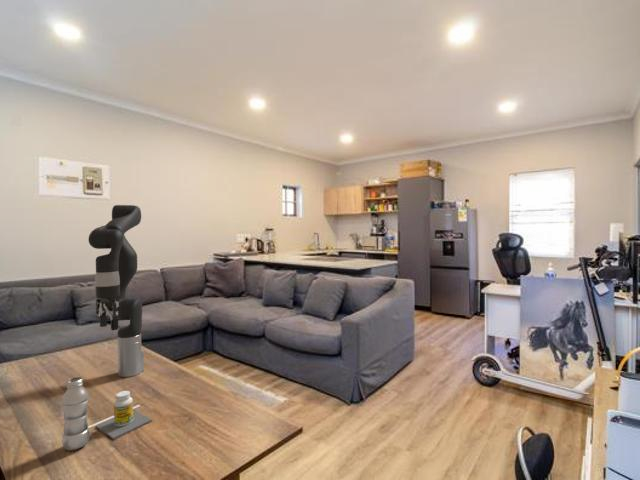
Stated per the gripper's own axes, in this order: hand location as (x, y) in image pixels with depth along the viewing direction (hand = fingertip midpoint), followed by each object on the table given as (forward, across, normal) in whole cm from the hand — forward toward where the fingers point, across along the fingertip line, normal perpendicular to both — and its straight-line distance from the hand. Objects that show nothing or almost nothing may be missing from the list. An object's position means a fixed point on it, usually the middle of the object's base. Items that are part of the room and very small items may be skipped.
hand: (108, 328), depth 124 cm
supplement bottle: (+28, -18, +4) cm, 33 cm away
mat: (+28, -18, +4) cm, 34 cm away
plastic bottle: (+28, -18, +18) cm, 38 cm away
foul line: (+28, -10, +5) cm, 30 cm away
